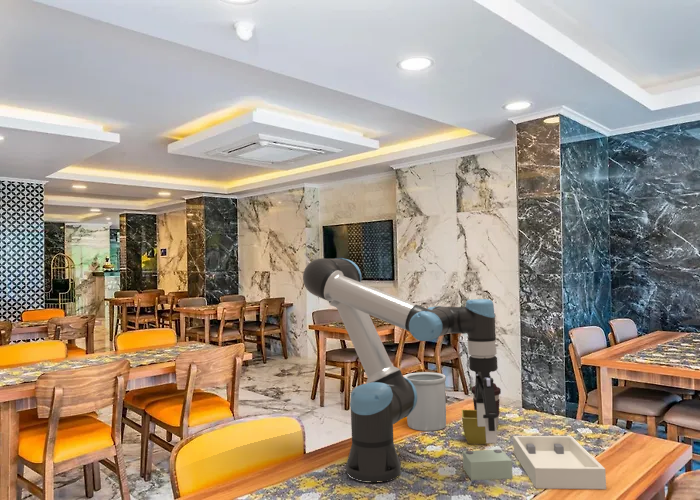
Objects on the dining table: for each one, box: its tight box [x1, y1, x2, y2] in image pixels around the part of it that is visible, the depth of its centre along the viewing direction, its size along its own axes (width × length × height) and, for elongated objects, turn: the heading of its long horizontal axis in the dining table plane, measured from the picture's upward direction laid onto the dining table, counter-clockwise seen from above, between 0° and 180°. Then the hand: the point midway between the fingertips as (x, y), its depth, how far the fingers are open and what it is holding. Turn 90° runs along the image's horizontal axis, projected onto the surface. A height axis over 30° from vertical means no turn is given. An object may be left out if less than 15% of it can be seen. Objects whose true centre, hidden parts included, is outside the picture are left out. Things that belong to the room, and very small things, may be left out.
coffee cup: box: [470, 382, 502, 429], centre depth 173 cm, size 10×10×15 cm
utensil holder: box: [403, 371, 447, 432], centre depth 177 cm, size 15×15×18 cm
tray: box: [512, 435, 607, 490], centre depth 136 cm, size 17×24×5 cm
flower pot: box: [461, 409, 487, 445], centre depth 159 cm, size 9×9×9 cm
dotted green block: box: [462, 448, 513, 482], centre depth 135 cm, size 11×8×5 cm
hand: (486, 434), depth 135 cm, fingers open, 13 cm apart
